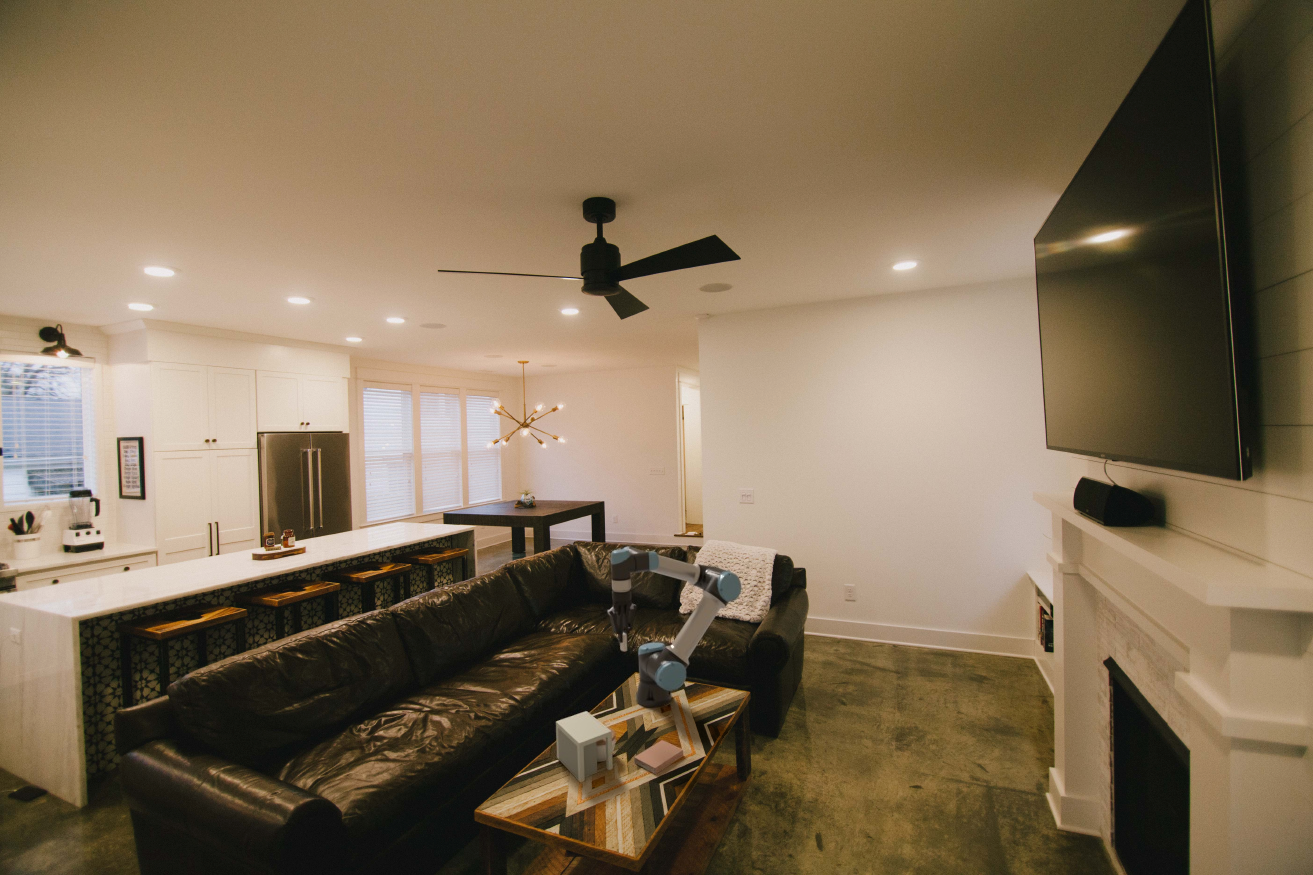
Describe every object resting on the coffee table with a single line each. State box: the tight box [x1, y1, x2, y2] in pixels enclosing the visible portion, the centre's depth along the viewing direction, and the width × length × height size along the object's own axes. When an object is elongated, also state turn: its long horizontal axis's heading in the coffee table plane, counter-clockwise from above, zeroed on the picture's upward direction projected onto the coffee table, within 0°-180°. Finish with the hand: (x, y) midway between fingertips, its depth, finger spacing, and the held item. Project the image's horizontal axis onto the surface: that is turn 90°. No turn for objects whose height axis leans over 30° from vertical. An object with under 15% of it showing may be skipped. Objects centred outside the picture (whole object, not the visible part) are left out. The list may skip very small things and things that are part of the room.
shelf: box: [555, 710, 614, 783], centre depth 185 cm, size 12×18×12 cm, turn 35°
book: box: [633, 739, 684, 775], centre depth 185 cm, size 14×10×2 cm
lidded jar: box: [596, 726, 616, 763], centre depth 188 cm, size 11×11×9 cm
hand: (623, 649), depth 211 cm, fingers closed
